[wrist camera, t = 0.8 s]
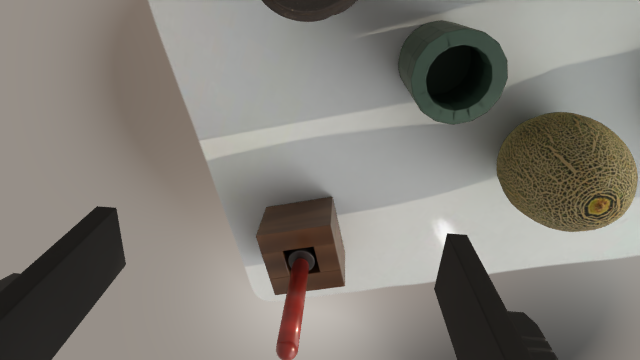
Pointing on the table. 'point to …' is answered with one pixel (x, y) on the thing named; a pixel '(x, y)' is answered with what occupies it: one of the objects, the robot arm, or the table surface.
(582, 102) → the table surface
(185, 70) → the table surface
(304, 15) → the container
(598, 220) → the fruit
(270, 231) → the holder
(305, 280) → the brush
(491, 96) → the green hollow cylinder
